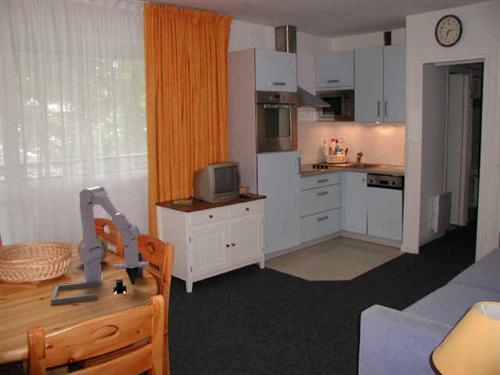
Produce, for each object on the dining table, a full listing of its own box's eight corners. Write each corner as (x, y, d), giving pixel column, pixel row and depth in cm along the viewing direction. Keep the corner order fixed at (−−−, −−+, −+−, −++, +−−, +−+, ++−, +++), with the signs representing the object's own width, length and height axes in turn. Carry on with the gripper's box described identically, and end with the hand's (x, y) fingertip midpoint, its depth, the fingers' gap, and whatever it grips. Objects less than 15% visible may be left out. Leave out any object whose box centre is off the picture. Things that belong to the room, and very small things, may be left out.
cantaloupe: (79, 260, 255) (77, 232, 253) (108, 257, 259) (106, 230, 257) (78, 269, 241) (76, 239, 239) (109, 265, 245) (107, 236, 243)
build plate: (128, 295, 207) (127, 284, 207) (110, 297, 206) (109, 286, 205) (128, 285, 219) (127, 275, 219) (111, 286, 218) (110, 276, 217)
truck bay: (56, 289, 214) (56, 285, 214) (99, 284, 219) (99, 280, 218) (51, 304, 197) (50, 299, 197) (98, 299, 202) (97, 294, 202)
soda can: (141, 279, 225) (139, 254, 223) (126, 279, 225) (124, 254, 223) (144, 274, 232) (143, 249, 230) (130, 274, 232) (128, 249, 230)
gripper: (113, 258, 206) (115, 288, 208) (148, 255, 209) (150, 285, 212) (113, 253, 212) (115, 283, 215) (147, 250, 216) (149, 279, 218)
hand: (133, 283), depth 214 cm, fingers closed
